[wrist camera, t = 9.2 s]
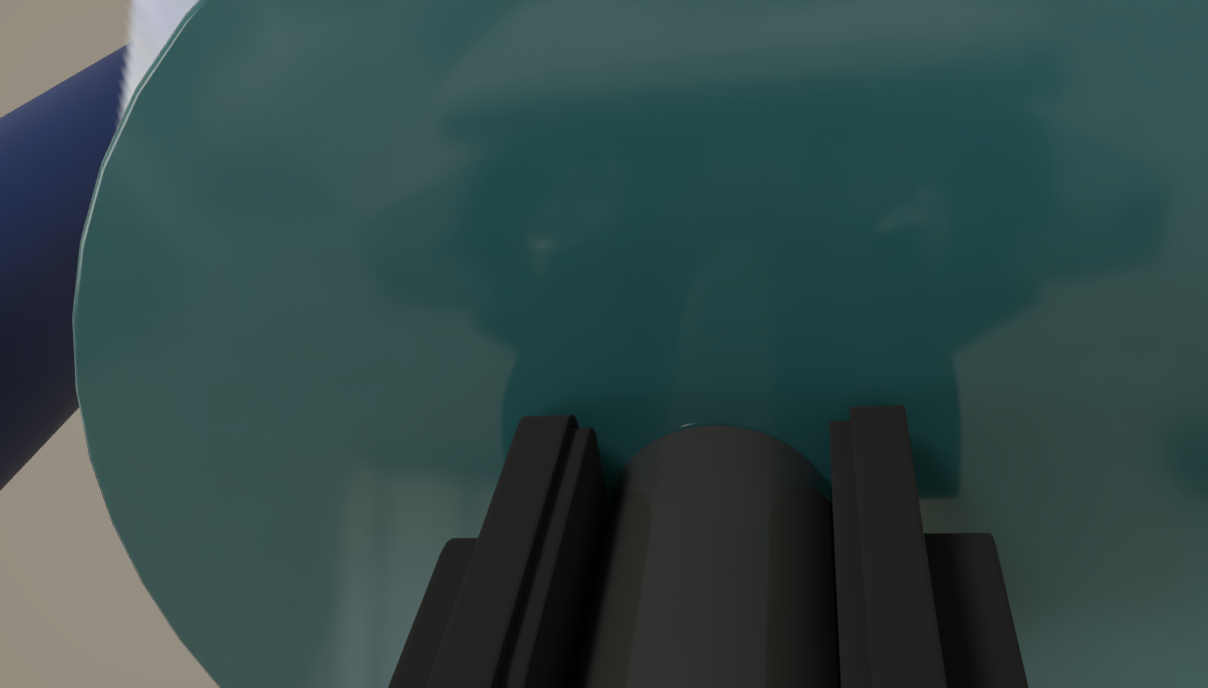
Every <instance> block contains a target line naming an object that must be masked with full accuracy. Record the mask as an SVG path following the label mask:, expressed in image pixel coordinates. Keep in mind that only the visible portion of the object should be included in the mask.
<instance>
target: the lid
mask: <svg viewBox="0 0 1208 688" xmlns="http://www.w3.org/2000/svg"><path fill="white" fill-rule="evenodd" d="M72 320H73V340H74V360H75V380H76V392H77V397H78V402H79V407H80V412H81V417H82V422H83V427H84V432H85V437H86V442H87V447H88V452H89V457H90V461H91V463H92V466H93V469H94V472H95V475H96V478H97V480H98V483H99V487H100V489H101V492H102V495H103V498H104V501H105V504H106V507H107V509H108V512H109V515H110V518H111V521H112V524H113V526H114V527H115V530H116V532H117V534H118V536H119V538H120V540H121V542H122V544H123V546H124V547H125V549H126V552H127V554H128V556H129V558H130V560H131V562H132V564H133V566H134V568H135V570H136V572H137V574H138V576H139V578H140V580H141V582H142V584H143V585H144V587H145V588H146V590H147V591H148V593H149V594H150V596H151V597H152V599H153V600H154V602H155V603H156V605H157V606H158V608H159V610H160V611H161V612H162V614H163V615H164V617H165V619H166V620H167V622H168V623H169V625H170V626H171V628H172V629H173V631H174V632H175V634H176V635H177V637H178V638H179V640H180V641H181V642H182V643H183V645H184V646H185V647H186V648H187V649H188V651H189V652H190V653H191V654H192V655H193V656H194V658H195V659H196V660H197V661H198V662H199V664H200V665H201V666H202V667H203V669H204V670H205V671H206V672H207V673H208V675H209V676H210V677H211V678H212V679H213V681H214V682H215V683H216V684H217V685H218V687H219V688H388V686H389V684H390V681H391V679H392V676H393V674H394V671H395V668H396V666H397V663H398V661H399V658H400V656H401V653H402V650H403V648H404V645H405V643H406V640H407V638H408V635H409V633H410V630H411V627H412V625H413V622H414V620H415V617H416V615H417V612H418V610H419V607H420V604H421V602H422V599H423V597H424V594H425V592H426V589H427V586H428V584H429V581H430V579H431V576H432V574H433V571H434V569H435V566H436V563H437V561H438V558H439V556H440V553H441V551H442V549H443V547H444V546H445V544H446V542H447V541H449V540H450V539H452V538H478V536H479V533H480V531H481V528H482V525H483V522H484V519H485V516H486V514H487V511H488V508H489V505H490V502H491V500H492V497H493V494H494V491H495V488H496V486H497V483H498V480H499V477H500V474H501V471H502V469H503V466H504V463H505V460H506V457H507V455H508V452H509V449H510V446H511V443H512V440H513V438H514V435H515V432H516V429H517V426H518V424H519V421H520V420H521V418H522V417H524V416H549V415H574V416H575V417H576V420H577V422H578V426H579V428H593V429H594V430H595V432H596V436H597V441H598V447H599V454H600V460H601V466H602V473H603V479H604V486H605V492H606V499H607V505H608V512H607V517H606V521H605V526H604V531H603V535H602V540H601V545H600V549H599V554H598V559H597V563H596V568H595V573H594V577H593V582H592V587H591V591H590V596H589V601H588V605H587V610H586V615H585V619H584V624H583V629H582V633H581V638H580V643H579V647H578V652H577V657H576V662H575V666H574V671H573V676H572V680H571V685H570V688H841V677H840V656H839V635H838V614H837V593H836V572H835V551H834V530H833V509H832V483H831V455H830V427H829V421H850V407H856V406H891V405H904V407H905V411H906V418H907V424H908V431H909V438H910V444H911V451H912V458H913V464H914V471H915V478H916V484H917V491H918V498H919V504H920V511H921V518H922V524H923V531H924V533H991V535H992V536H993V538H994V541H995V544H996V548H997V552H998V556H999V561H1000V565H1001V569H1002V574H1003V578H1004V582H1005V587H1006V591H1007V596H1008V600H1009V604H1010V609H1011V613H1012V617H1013V622H1014V626H1015V630H1016V635H1017V639H1018V643H1019V648H1020V652H1021V657H1022V661H1023V665H1024V670H1025V674H1026V678H1027V683H1028V687H1029V688H1208V0H199V1H198V2H197V3H196V4H195V5H194V6H193V7H192V8H191V9H190V10H189V11H188V12H187V13H186V14H185V16H184V17H183V19H182V20H181V22H180V23H179V25H178V26H177V28H176V29H175V31H174V32H173V34H172V35H171V37H170V38H169V40H168V41H167V43H166V44H165V46H164V47H163V49H162V50H161V51H160V53H159V54H158V56H157V57H156V59H155V60H154V62H153V63H152V65H151V66H150V68H149V69H148V71H147V72H146V74H145V75H144V77H143V78H142V80H141V81H140V83H139V84H138V86H137V87H136V89H135V91H134V93H133V95H132V98H131V100H130V102H129V104H128V106H127V109H126V111H125V113H124V115H123V117H122V120H121V122H120V124H119V126H118V128H117V131H116V133H115V135H114V137H113V139H112V142H111V144H110V146H109V148H108V150H107V152H106V155H105V157H104V159H103V161H102V163H101V167H100V171H99V174H98V178H97V182H96V185H95V189H94V193H93V196H92V200H91V204H90V208H89V211H88V215H87V219H86V222H85V226H84V230H83V233H82V237H81V241H80V249H79V259H78V268H77V278H76V287H75V297H74V306H73V316H72Z"/></svg>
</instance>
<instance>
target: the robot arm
mask: <svg viewBox="0 0 1208 688" xmlns="http://www.w3.org/2000/svg"><path fill="white" fill-rule="evenodd" d="M829 427H830V455H831V483H832V509H833V530H834V551H835V572H836V593H837V614H838V635H839V656H840V677H841V688H1029V687H1028V683H1027V678H1026V674H1025V670H1024V665H1023V661H1022V657H1021V652H1020V648H1019V643H1018V639H1017V635H1016V630H1015V626H1014V622H1013V617H1012V613H1011V609H1010V604H1009V600H1008V596H1007V591H1006V587H1005V582H1004V578H1003V574H1002V569H1001V565H1000V561H999V556H998V552H997V548H996V544H995V541H994V538H993V536H992V535H991V533H924V531H923V524H922V518H921V511H920V504H919V498H918V491H917V484H916V478H915V471H914V464H913V458H912V451H911V444H910V438H909V431H908V424H907V418H906V411H905V407H904V405H891V406H856V407H850V421H829ZM607 512H608V505H607V499H606V492H605V486H604V479H603V473H602V466H601V460H600V454H599V447H598V441H597V436H596V432H595V430H594V429H593V428H579V426H578V422H577V420H576V417H575V416H574V415H549V416H524V417H522V418H521V420H520V421H519V424H518V426H517V429H516V432H515V435H514V438H513V440H512V443H511V446H510V449H509V452H508V455H507V457H506V460H505V463H504V466H503V469H502V471H501V474H500V477H499V480H498V483H497V486H496V488H495V491H494V494H493V497H492V500H491V502H490V505H489V508H488V511H487V514H486V516H485V519H484V522H483V525H482V528H481V531H480V533H479V536H478V538H452V539H450V540H449V541H447V542H446V544H445V546H444V547H443V549H442V551H441V553H440V556H439V558H438V561H437V563H436V566H435V569H434V571H433V574H432V576H431V579H430V581H429V584H428V586H427V589H426V592H425V594H424V597H423V599H422V602H421V604H420V607H419V610H418V612H417V615H416V617H415V620H414V622H413V625H412V627H411V630H410V633H409V635H408V638H407V640H406V643H405V645H404V648H403V650H402V653H401V656H400V658H399V661H398V663H397V666H396V668H395V671H394V674H393V676H392V679H391V681H390V684H389V686H388V688H570V685H571V680H572V676H573V671H574V666H575V662H576V657H577V652H578V647H579V643H580V638H581V633H582V629H583V624H584V619H585V615H586V610H587V605H588V601H589V596H590V591H591V587H592V582H593V577H594V573H595V568H596V563H597V559H598V554H599V549H600V545H601V540H602V535H603V531H604V526H605V521H606V517H607Z"/></svg>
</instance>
